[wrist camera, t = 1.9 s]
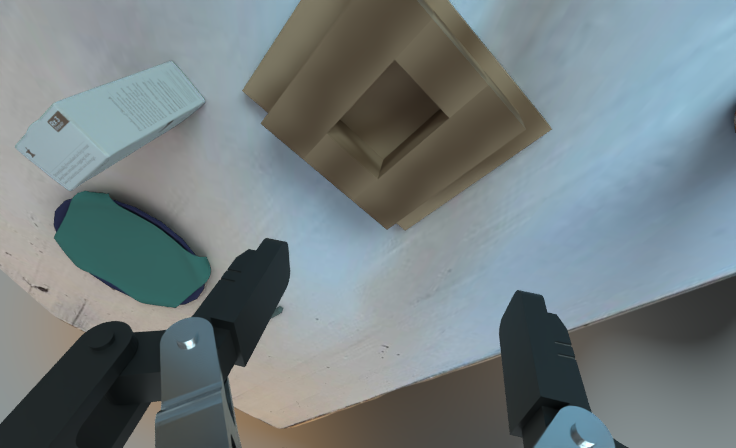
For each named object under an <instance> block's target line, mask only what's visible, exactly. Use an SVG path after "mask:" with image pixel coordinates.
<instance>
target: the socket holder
mask: <svg viewBox="0 0 736 448" xmlns="http://www.w3.org/2000/svg"><path fill="white" fill-rule="evenodd" d="M242 91H243V92H244V93H245V94H246V95H248V96H249V97H250V98H251V99H252V100H253V101H255V102H256V103H257V104H258V105H259V106H260V107H262V108H263V109H264V110H265V111H266V112H267V113H268V114H267V116H266V117H265V118H264V120H263V121H262V122H261V124H262V125H263V126H264V127H265V128H266V129H268V130H269V131H270V132H271V133H272V134H274V135H275V136H276V137H277V138H278V139H280V140H281V141H282V142H283V143H284V144H285V145H287V146H288V147H289V148H290V149H291V150H293V151H294V152H295V153H296V154H297V155H299V156H300V157H301V158H302V159H303V160H305V161H306V162H307V163H308V164H309V165H310V166H312V167H313V168H314V169H315V170H316V171H318V172H319V173H320V174H321V175H322V176H324V177H325V178H326V179H327V180H328V181H330V182H331V183H332V184H333V185H334V186H335V187H337V188H338V189H339V190H340V191H341V192H343V193H344V194H345V195H346V196H347V197H349V198H350V199H351V200H352V201H353V202H355V203H356V204H357V205H358V206H359V207H360V208H362V209H363V210H364V211H365V212H366V213H368V214H369V215H370V216H371V217H372V218H374V219H375V220H376V221H377V222H378V223H380V224H381V225H382V226H383V227H384V228H386V229H389V228H390V227H392V226H393V225H394V224H396V223H397V224H398V225H399V226H400V227H401V228H403V229H404V230H405V231H406V230H407V229H408V228H410V227H411V226H413V225H414V224H416V223H417V222H419V221H420V220H421V219H423V218H424V217H426V216H427V215H429V214H430V213H432V212H433V211H434V210H436V209H437V208H439V207H440V206H442V205H443V204H445V203H446V202H447V201H449V200H450V199H452V198H453V197H455V196H456V195H458V194H459V193H460V192H462V191H463V190H465V189H466V188H468V187H469V186H471V185H472V184H474V183H475V182H476V181H478V180H479V179H481V178H482V177H484V176H485V175H487V174H488V173H489V172H491V171H492V170H494V169H495V168H497V167H498V166H500V165H501V164H502V163H504V162H505V161H507V160H508V159H510V158H511V157H513V156H514V155H515V154H517V153H518V152H520V151H521V150H523V149H524V148H526V147H527V146H528V145H530V144H531V143H533V142H534V141H536V140H537V139H539V138H540V137H541V136H543V135H544V134H546V133H547V132H549V131H550V130H552V129H551V127H550V125H549V124H548V123H547V121H546V120H545V119H544V118H543V116H542V115H541V114H540V113H539V111H538V110H537V109H536V108H535V107H534V105H533V104H532V103H531V102H530V100H529V99H528V98H527V97H526V95H525V94H524V93H523V92H522V90H521V89H520V88H519V87H518V86H517V84H516V83H515V82H514V81H513V79H512V78H511V77H510V76H509V74H508V73H507V72H506V71H505V70H504V68H503V67H502V66H501V65H500V63H499V62H498V61H497V60H496V58H495V57H494V56H493V55H492V53H491V52H490V51H489V50H488V49H487V47H486V46H485V45H484V44H483V42H482V41H481V40H480V39H479V37H478V36H477V35H476V34H475V32H474V31H473V30H472V29H471V28H470V26H469V25H468V24H467V23H466V21H465V20H464V19H463V18H462V16H461V15H460V14H459V13H458V12H457V10H456V9H455V8H454V7H453V5H452V4H451V3H450V2H449V0H301V1H300V3H299V4H298V6H297V7H296V9H295V10H294V12H293V13H292V15H291V16H290V18H289V19H288V21H287V23H286V24H285V26H284V27H283V29H282V30H281V32H280V33H279V35H278V36H277V38H276V39H275V41H274V43H273V44H272V46H271V47H270V49H269V50H268V52H267V53H266V55H265V56H264V58H263V59H262V61H261V63H260V64H259V66H258V67H257V69H256V70H255V72H254V73H253V75H252V76H251V78H250V80H249V81H248V83H247V84H246V86H245V87H244V89H243V90H242Z"/></svg>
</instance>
